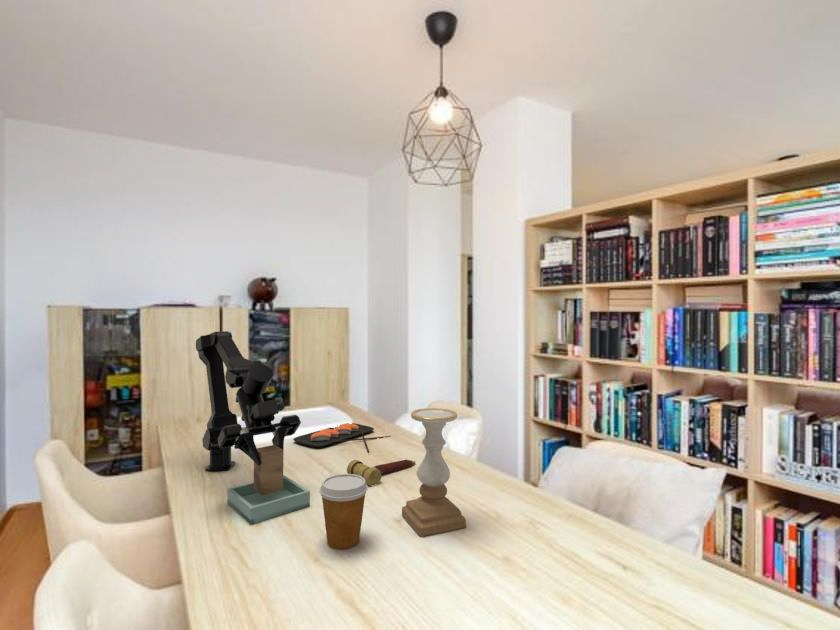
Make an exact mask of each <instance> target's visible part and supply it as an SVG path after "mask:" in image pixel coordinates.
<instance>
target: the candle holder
mask: <svg viewBox="0 0 840 630" xmlns="http://www.w3.org/2000/svg"><path fill="white" fill-rule="evenodd" d="M410 417H411V419H412V420H414V421H417V422H421V425H422V426H423V428H424V429H425V436H424V438H423V439H422V441H421V443H422V445H423V447H424V450H425V455H424V458H423V459H422V461H421V462H420V463H419V466H418V467H417V470H416V477H417V479H418V481H419V482H420V483H422V484H421V485H420V487H419V494H420V497H419V496H418V498H416V499H410V500H407V501H406V502H405V505H404V506H402V507H401V516H402V518H403V519H404V520H405V522H406V523H407V524H408V525H409V526H410V527H411V529H412V530H413V531H414V532H415V534H417V535H418V537H421V538H423V537H428V536H434V535H439V534H443V533H448V532H453V531H457V530H458V531H459V530H463V529H465V528H467V520H466V518H465V516H463V515H462V511H461V510H460V509H459V507H457V505H456V504H454V503H453V502H452V501H451V500H450V498H448V497H446V495H448V494H447V493H448V489H447V486H446V485H445V484H446V483H447V482H448V481H449V479H450V477H451V471H450V468H449V466H448V464H447V462H446V460H445V459H444V456H443V454H442V450H443V449H444V446H445V445H447V444H446V442H447V441H446V440H445V438H444V437H443V429H444V428H445V426H446V425H447V423H451V422H455V421H456V420H457V419H458V413H457V412H456V411H455V410H451V409H448V408H441V407H440V408H438V407H437V408H436V407H427V408H419V409H415V410H412V411H411V413H410Z"/></svg>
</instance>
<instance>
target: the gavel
mask: <svg viewBox="0 0 840 630" xmlns="http://www.w3.org/2000/svg"><path fill="white" fill-rule="evenodd" d="M414 465H416V461H415V460H413V459H412V460H410V459H404V460H403V459H402V460H398V461H393V462H388V463H382V464H378V465H375V466H372V467H371V466H368V465H366V464H364V462H362V461H361V460H360V461H359V460H357V459H353V460H351V461H350V462H348V464H347V467H346V472H347V473H346V474H355V475H359V476H362V477H363V478H364V479H365V481H366V484H367V486H368V487H369V486H370V487H373V486H372V485H374V484H377V485H379V484H380V482H381V480H382V475H383V474H389V473H394V472H397V471H401V470H405V468H406V469H409V468H411V467H412V466H413V467H414ZM378 483H379V484H378ZM374 486H375V485H374Z"/></svg>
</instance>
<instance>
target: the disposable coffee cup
mask: <svg viewBox="0 0 840 630" xmlns="http://www.w3.org/2000/svg"><path fill="white" fill-rule="evenodd" d="M368 489H369V485H367V484H366V481H365V479H364V478H363V477H362V476H359V475H355V474H348V473H339V474H334V475H331V476H328V477H325V478H324V479H322V482H321V486H320V487H319V491H318V492H319V493H320V496H321V500H322V510H323V515H324V516H323V517H324V525H325V526H324V527H325V533H326V534H325V535H326V543H327V545H328V546H329V547H330V548H331V549H332V548H333V549H335V550H347V549H350V548H351V549H352V548H354V547H355V546H356V545H358V544H359V542H360V538H361V537H360V535H361V530H362V529H361V528H362V521H363V513H364V507H365V505H364V504H365V500H366V499H365V498H366V494H367V491H368Z"/></svg>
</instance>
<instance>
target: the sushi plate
mask: <svg viewBox="0 0 840 630" xmlns="http://www.w3.org/2000/svg"><path fill="white" fill-rule="evenodd" d="M349 423H350V422H347V423H342V424H339V425H340V426H339V427H335V428H331V427H327V428H323V429H320V430H316V431H313V432H310V433H306V434H303V435H299V436H296V437H294V438H293V439H292V440H293V441H294V442H296V443H299V444H303V445H306V446H310V447H315V448H319V447H325V446H330V445H332V444H335V443H338V442H339V443H340V442H351V441H352V442H355V441H363V442H364V445H365V449H367V450H366V452H367V454H368V453H369V452H370V450H369V447H368V444H367V441H368V440H378V439H377V438H379V439H385V438H391V437H392V435H388V436H387V435H386V436H376V437H375V436H374V437H365V436H364V435H365V434H366V433H369V432H373V431H374V429H375V428H374V427H373V426H370V425H369V426H368V425H364V424H360V423H353V422H351V423H352V424H349ZM358 436H362V438H355V439H354V437H358ZM384 437H385V438H384ZM351 438H353V439H351ZM366 440H367V441H366Z"/></svg>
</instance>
